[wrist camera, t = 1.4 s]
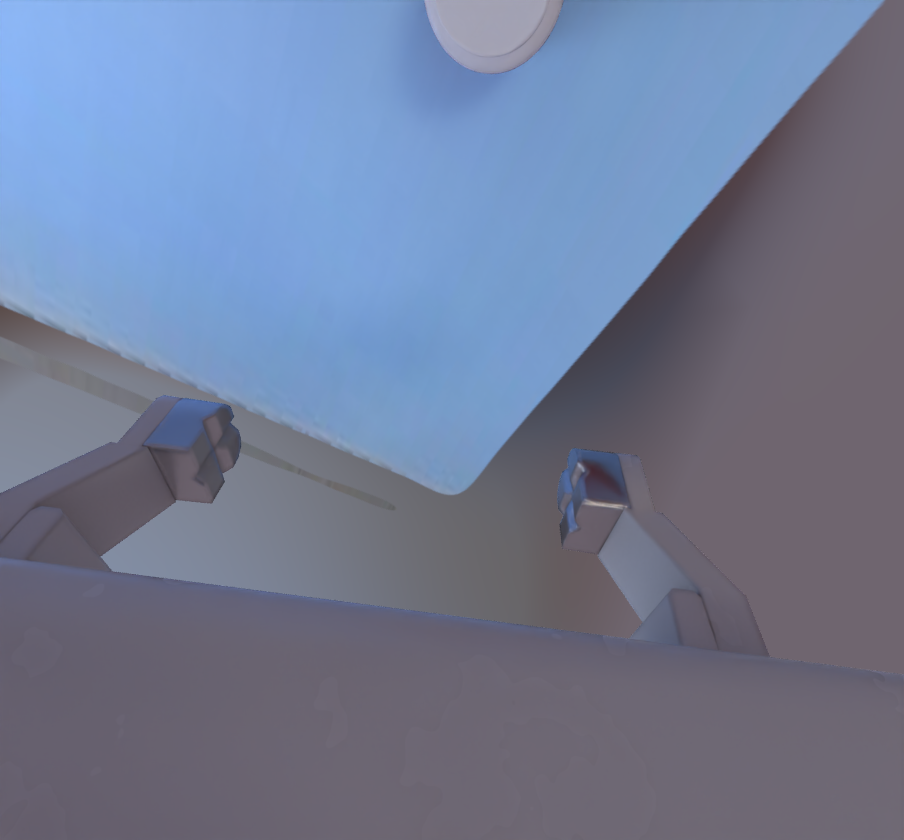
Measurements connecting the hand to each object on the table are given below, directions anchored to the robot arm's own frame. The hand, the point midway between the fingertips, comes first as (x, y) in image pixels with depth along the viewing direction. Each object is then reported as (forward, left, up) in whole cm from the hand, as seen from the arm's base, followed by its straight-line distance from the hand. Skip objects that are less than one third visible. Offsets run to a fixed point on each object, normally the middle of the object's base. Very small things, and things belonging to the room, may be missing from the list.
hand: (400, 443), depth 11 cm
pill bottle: (-6, +7, -27) cm, 29 cm away
